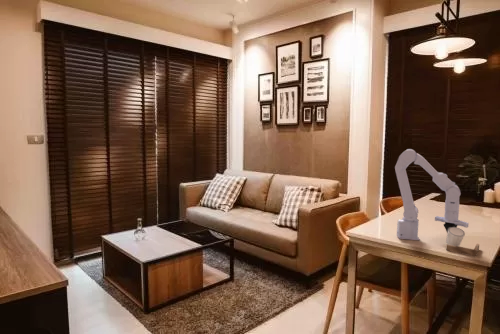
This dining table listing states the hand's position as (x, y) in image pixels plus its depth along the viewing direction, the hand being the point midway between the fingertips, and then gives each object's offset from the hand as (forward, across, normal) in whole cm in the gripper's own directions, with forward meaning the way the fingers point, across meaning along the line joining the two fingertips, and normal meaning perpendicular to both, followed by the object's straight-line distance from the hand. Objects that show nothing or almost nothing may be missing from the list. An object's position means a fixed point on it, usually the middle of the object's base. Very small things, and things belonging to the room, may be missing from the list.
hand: (450, 238), depth 160 cm
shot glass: (+1, +2, -2) cm, 3 cm away
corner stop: (+2, +11, -6) cm, 13 cm away
